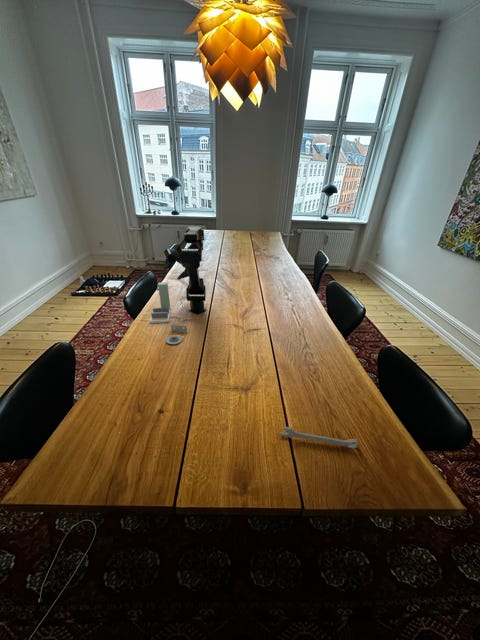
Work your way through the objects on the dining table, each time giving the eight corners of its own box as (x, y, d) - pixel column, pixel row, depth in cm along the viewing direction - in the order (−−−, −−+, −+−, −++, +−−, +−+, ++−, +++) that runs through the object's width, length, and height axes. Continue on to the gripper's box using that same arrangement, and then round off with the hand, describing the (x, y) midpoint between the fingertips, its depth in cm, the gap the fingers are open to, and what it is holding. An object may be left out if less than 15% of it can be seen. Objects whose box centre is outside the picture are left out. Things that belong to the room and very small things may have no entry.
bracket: (163, 345, 101) (162, 337, 99) (172, 331, 109) (171, 324, 107) (179, 346, 100) (178, 339, 98) (187, 332, 109) (186, 325, 107)
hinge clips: (170, 311, 123) (170, 305, 121) (168, 322, 115) (167, 315, 113) (153, 312, 122) (152, 305, 120) (150, 323, 113) (149, 316, 112)
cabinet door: (170, 305, 128) (167, 282, 122) (169, 307, 126) (166, 284, 120) (159, 306, 128) (156, 282, 121) (159, 308, 125) (155, 284, 119)
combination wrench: (359, 438, 64) (280, 423, 67) (361, 442, 63) (280, 427, 66) (355, 446, 66) (278, 432, 69) (356, 451, 65) (278, 436, 67)
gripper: (200, 252, 132) (180, 273, 136) (172, 232, 118) (151, 256, 122) (207, 265, 126) (186, 286, 130) (178, 245, 111) (156, 270, 116)
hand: (170, 274), depth 125 cm, fingers open, 9 cm apart
